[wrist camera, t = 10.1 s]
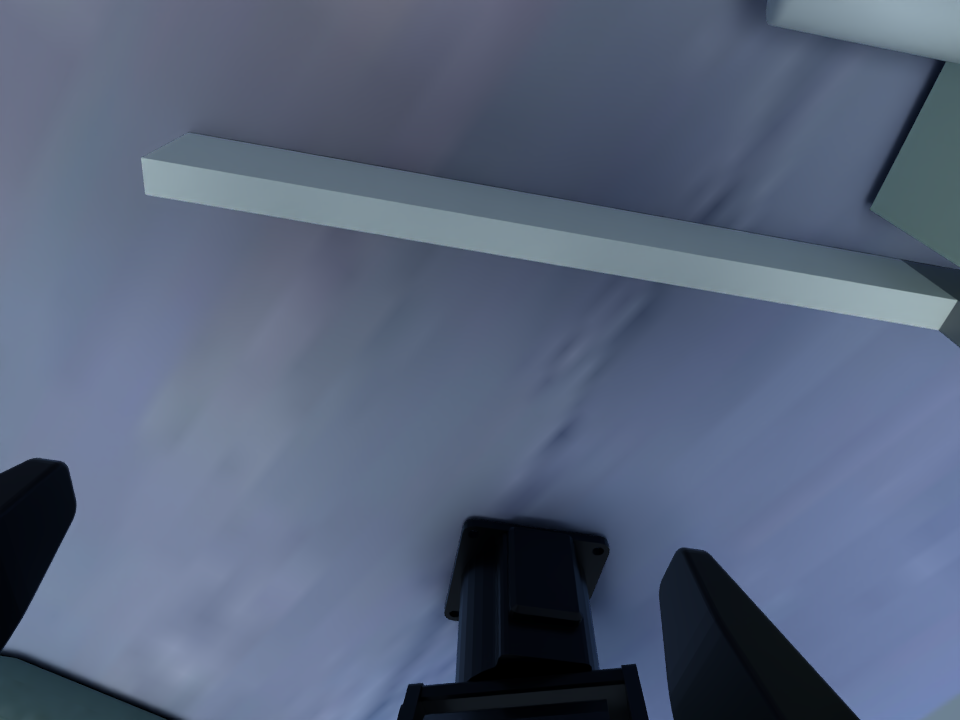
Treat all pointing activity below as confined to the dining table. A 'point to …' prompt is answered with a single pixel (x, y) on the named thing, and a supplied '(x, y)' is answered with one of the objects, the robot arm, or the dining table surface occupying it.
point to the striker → (941, 122)
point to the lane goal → (551, 231)
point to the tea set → (56, 697)
